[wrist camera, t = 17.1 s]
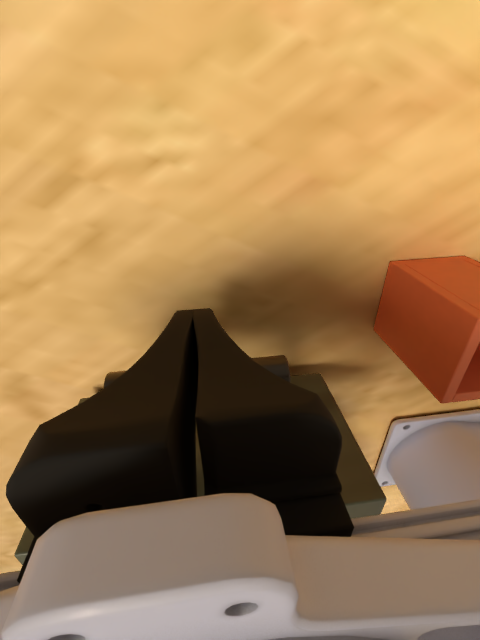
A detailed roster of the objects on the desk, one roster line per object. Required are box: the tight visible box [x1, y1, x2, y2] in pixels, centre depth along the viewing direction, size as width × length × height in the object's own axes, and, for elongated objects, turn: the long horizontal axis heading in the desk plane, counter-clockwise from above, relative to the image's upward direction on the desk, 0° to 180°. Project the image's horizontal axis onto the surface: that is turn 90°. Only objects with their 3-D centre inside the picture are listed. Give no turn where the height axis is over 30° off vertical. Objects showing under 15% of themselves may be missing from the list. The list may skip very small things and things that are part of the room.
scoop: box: [374, 256, 480, 403], centre depth 15 cm, size 6×4×6 cm
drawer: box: [15, 355, 386, 565], centre depth 17 cm, size 18×13×7 cm
